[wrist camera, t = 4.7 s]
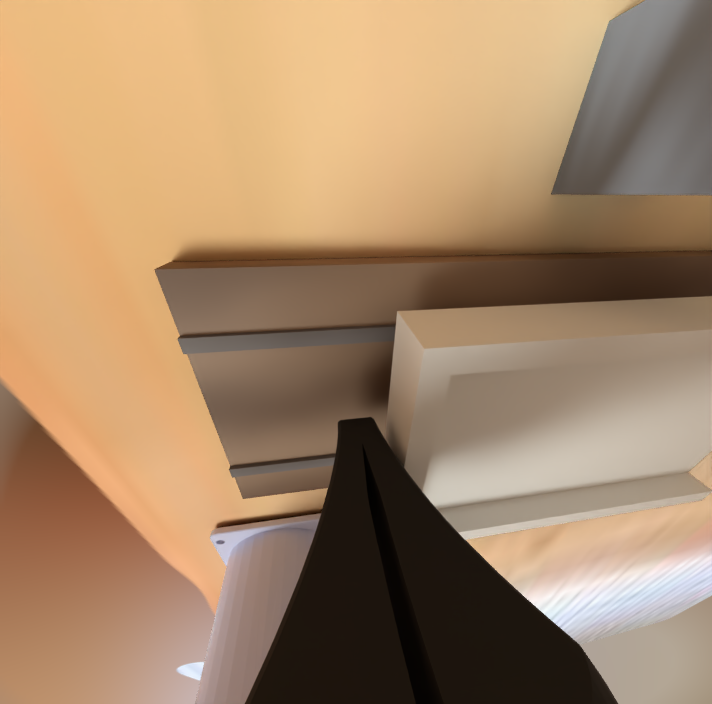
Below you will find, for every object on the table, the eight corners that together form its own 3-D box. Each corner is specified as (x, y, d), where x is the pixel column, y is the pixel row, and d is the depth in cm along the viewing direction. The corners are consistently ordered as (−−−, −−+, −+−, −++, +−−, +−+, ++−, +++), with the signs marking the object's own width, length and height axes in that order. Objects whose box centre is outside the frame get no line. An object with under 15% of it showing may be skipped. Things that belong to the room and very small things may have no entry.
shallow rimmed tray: (631, 444, 16) (701, 500, 13) (374, 477, 14) (390, 552, 11) (767, 282, 11) (934, 314, 8) (387, 297, 9) (424, 348, 6)
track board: (601, 437, 18) (619, 452, 17) (247, 481, 15) (242, 502, 14) (738, 250, 11) (781, 255, 10) (170, 262, 8) (150, 271, 7)
